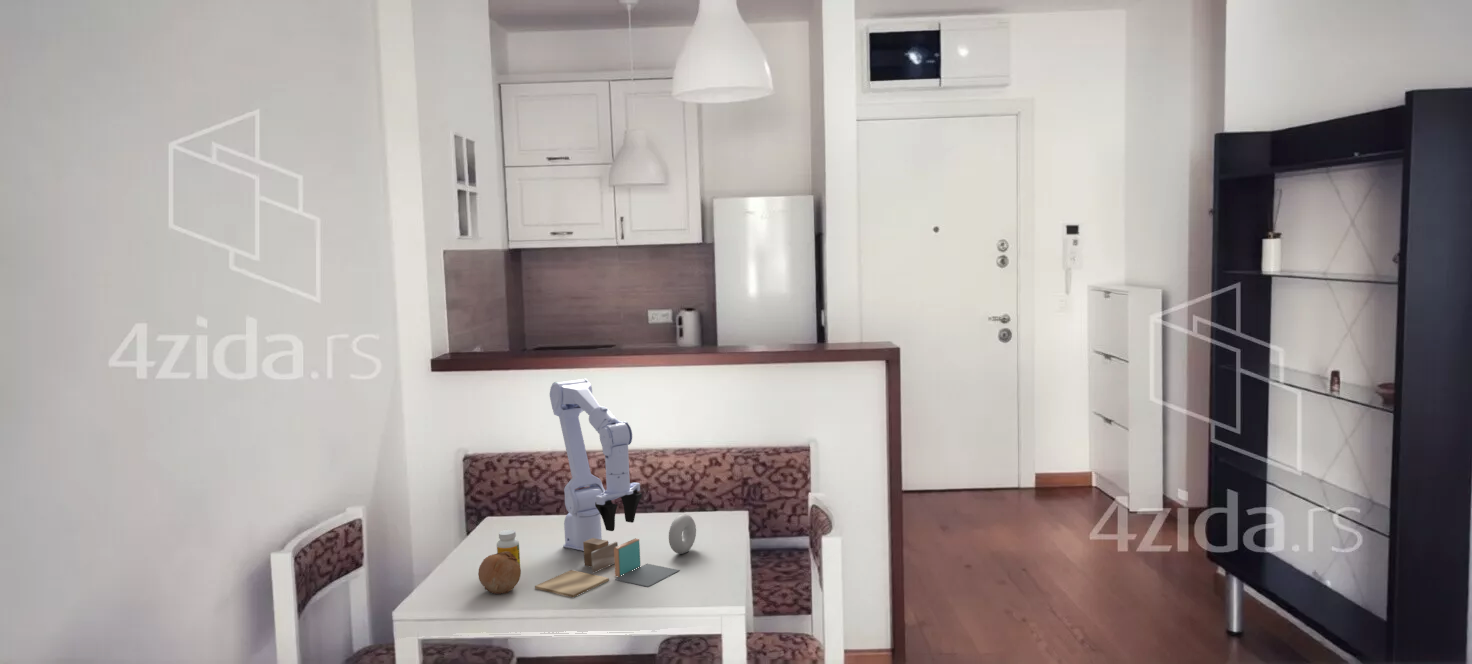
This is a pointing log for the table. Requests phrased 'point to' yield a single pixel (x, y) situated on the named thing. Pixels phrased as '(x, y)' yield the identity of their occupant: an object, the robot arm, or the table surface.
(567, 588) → the oak board
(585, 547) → the brown grey t-shaped block
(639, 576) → the slate mat
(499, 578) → the onion
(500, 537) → the supplement bottle
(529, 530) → the table surface
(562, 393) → the robot arm
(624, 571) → the tile
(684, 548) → the donut
